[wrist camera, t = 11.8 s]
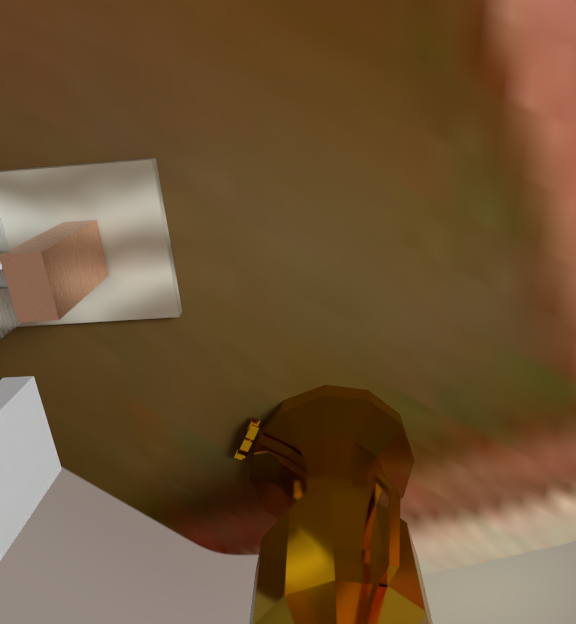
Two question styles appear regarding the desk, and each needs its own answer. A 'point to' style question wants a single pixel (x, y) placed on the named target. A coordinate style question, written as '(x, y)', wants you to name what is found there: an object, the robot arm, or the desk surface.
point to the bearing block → (6, 295)
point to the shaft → (54, 270)
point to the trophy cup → (334, 513)
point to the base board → (101, 232)
